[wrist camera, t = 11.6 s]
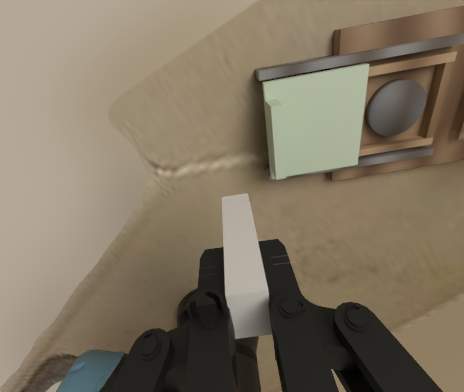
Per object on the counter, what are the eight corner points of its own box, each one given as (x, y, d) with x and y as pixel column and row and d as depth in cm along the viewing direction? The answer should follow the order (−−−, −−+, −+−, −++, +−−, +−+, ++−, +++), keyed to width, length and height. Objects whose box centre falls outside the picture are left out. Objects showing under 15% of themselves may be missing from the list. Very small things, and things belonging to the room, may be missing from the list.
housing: (266, 185, 32) (270, 196, 30) (252, 45, 24) (256, 45, 22) (516, 144, 31) (540, 152, 29) (592, -19, 23) (635, -26, 21)
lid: (270, 175, 28) (277, 192, 25) (262, 82, 23) (269, 87, 20) (354, 161, 28) (372, 177, 25) (364, 63, 23) (389, 66, 19)
